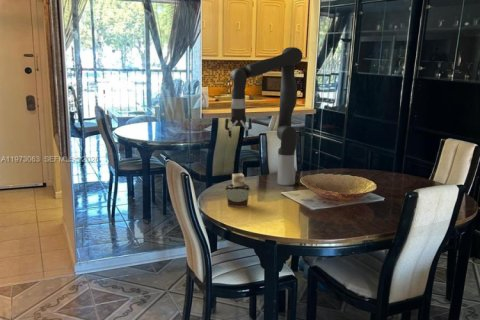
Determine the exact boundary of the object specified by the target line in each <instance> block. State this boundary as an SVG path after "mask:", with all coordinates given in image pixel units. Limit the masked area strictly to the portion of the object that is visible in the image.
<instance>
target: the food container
mask: <svg viewBox="0 0 480 320" xmlns="http://www.w3.org/2000/svg"><path fill="white" fill-rule="evenodd" d="M224 191H226V193H225V194H226V200H227V201H226V202H227V206H228V207H239V206H241V207H242V208H243V207H244V208H245V207H246V208H247V207H248V202H249V193H250V191H251V188H250V186H249V185H248V184H246V183H244V186H237V187H234V186H233V184H232V183H230V184H227V185H225V188H224ZM241 207H240V208H241Z"/></svg>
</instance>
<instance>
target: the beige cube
mask: <svg viewBox="0 0 480 320" xmlns="http://www.w3.org/2000/svg"><path fill="white" fill-rule="evenodd" d="M231 182H232V183H231V184H233V186H234V187H237V186H244V184H245V175H244V174H243V173H241V172H240V173H231Z"/></svg>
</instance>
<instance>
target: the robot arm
mask: <svg viewBox="0 0 480 320" xmlns="http://www.w3.org/2000/svg"><path fill="white" fill-rule="evenodd" d="M302 59H303V52H302V50H301V49H300V48H299V47H295V46H293V47H289V46H288V47H286V48H284V49H283V51H282V53H280V54H278V55H277V56H274V57H270V58H265V59H261V60H259V61H256V62H253V63H250V64H248V65H245V66H241V67H237V68H234V69H233V70H232V71H231V72H230V80H232V81H233V87H232V89H231V106H230V110H231V111H230V113H231V114H230V116H231V117H230V118H227V117H226V118H224V119H225V121H224V123H225V124H224V129H225V130H226V131H228V132H227V133H228V134H227V136H228V137H229V138H230V139H232V130H233V129H234V127H244V129H245V130H244V137H245V138H247V137H249V130H252V128H253V127H252V118H251V117H246V107H247V105H246V88H247V87H246V86H247V80H248V79H249V78H256V77H258V76H261V75H263V74H266V73H269V72H272V71H274V70H276V69H280V68H281V79H280V80H281V81H280V82H281V83H280V92H279V108H278V109H279V113H278V122H277V128H276V136H277V138H278V139H279V140H280V147H279V148H278V151H277V153H278V154H277V179H276V180H277V184H278V185H281V186H292V185H295V184H296V167H295V155H296V153H295V152H296V149H297V144H298V143H297V142H298V141H297V139H298V134H297V133H298V132H297V129H296V128H295V127H293V126H292V115H293V113H294V110H295V108H296V104H297V100H298V85H297V82H296V77H295V71H296V66H297V65H298V64H299V63H300V62H301V61H302ZM230 122H231V123H230ZM246 122H247V123H248V126H247V125H246V124H245V123H246ZM229 123H230V126H229Z"/></svg>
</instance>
